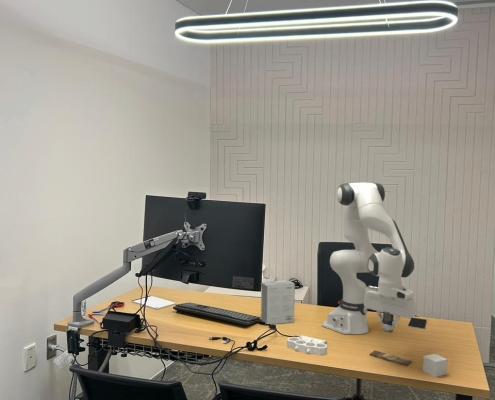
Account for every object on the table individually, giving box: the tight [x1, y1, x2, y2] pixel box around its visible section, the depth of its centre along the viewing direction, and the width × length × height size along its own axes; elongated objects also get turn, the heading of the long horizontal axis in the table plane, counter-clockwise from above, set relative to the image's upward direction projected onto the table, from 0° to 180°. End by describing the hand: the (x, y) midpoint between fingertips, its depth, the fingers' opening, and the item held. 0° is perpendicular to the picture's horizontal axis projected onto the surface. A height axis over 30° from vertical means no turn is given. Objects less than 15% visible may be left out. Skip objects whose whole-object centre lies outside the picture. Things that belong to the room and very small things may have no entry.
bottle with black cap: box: [381, 311, 395, 333], centre depth 188 cm, size 4×4×8 cm
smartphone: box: [407, 317, 427, 330], centre depth 241 cm, size 8×1×15 cm
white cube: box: [422, 353, 448, 378], centre depth 182 cm, size 6×6×6 cm
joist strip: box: [369, 350, 413, 367], centre depth 195 cm, size 16×6×1 cm, turn 50°
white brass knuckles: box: [286, 335, 328, 356], centre depth 205 cm, size 3×18×15 cm
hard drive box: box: [260, 279, 296, 325], centre depth 239 cm, size 16×8×20 cm, turn 108°
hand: (388, 323), depth 188 cm, fingers closed on bottle with black cap, 4 cm apart
